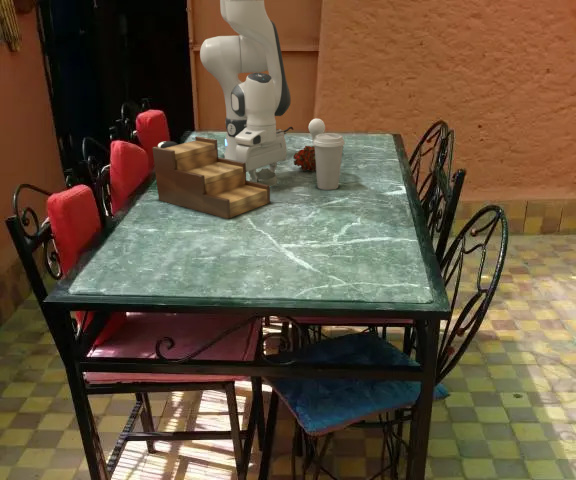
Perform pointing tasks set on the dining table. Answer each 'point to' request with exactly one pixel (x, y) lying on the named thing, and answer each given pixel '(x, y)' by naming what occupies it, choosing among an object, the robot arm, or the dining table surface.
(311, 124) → the lightbulb
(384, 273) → the dining table surface
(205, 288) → the dining table surface
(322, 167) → the coffee cup
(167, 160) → the step shelf
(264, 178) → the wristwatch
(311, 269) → the dining table surface
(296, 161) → the dragon fruit
